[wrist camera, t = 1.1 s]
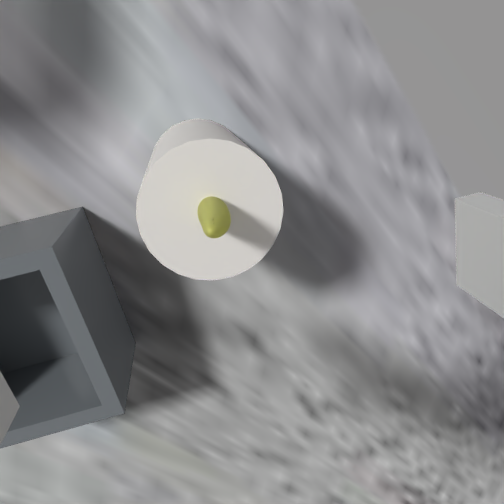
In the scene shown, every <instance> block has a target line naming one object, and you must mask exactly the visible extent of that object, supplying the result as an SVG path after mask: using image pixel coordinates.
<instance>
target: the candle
mask: <svg viewBox="0 0 504 504" xmlns="http://www.w3.org/2000/svg"><path fill="white" fill-rule="evenodd" d="M282 217H283V201H282V193H281V190H280V187H279V185H278V182H277V179H276V177H275V175H274V174H273V172H272V171H271V170H270V168H269V167H268V166H267V164H266V163H265V161H264V160H263V159H261V158H260V157H259V156H258V155H257V154H256V153H255V152H254V151H252V150H251V149H250V148H249V147H248V146H247V145H246V144H244V143H243V142H242V141H241V140H240V139H239V138H238V137H237V136H235V135H234V134H233V133H232V132H231V131H229V130H228V129H227V128H225V127H224V126H223V125H221V124H218V123H216V122H214V121H211V120H205V119H191V120H184V121H182V122H180V123H178V124H175V125H173V126H172V127H170V128H169V129H168V130H167V131H166V132H164V133H163V134H162V136H161V137H160V139H159V140H158V142H157V143H156V144H155V147H154V150H153V153H152V156H151V158H150V161H149V164H148V167H147V170H146V173H145V175H144V178H143V181H142V184H141V187H140V190H139V193H138V196H137V207H136V219H137V223H138V227H139V231H140V235H141V237H142V239H143V241H144V243H145V244H146V246H147V248H148V250H149V251H150V253H151V254H152V255H153V256H154V257H155V258H156V259H157V260H158V261H159V262H160V263H161V264H162V265H164V266H165V267H167V268H169V269H170V270H172V271H174V272H175V273H177V274H179V275H183V276H186V277H189V278H192V279H197V280H219V279H224V278H230V277H233V276H235V275H237V274H240V273H242V272H244V271H247V270H248V269H250V268H251V267H252V266H254V265H255V264H256V263H257V262H259V261H260V260H261V259H262V258H263V257H264V256H265V255H266V253H267V252H268V251H269V250H270V248H271V247H272V246H273V244H274V242H275V240H276V238H277V235H278V233H279V231H280V228H281V223H282Z"/></svg>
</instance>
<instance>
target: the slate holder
mask: <svg viewBox="0 0 504 504" xmlns="http://www.w3.org/2000/svg"><path fill="white" fill-rule="evenodd" d="M135 344H136V343H135V341H134V338H133V335H132V333H131V330H130V328H129V325H128V323H127V320H126V317H125V315H124V312H123V310H122V307H121V305H120V302H119V299H118V297H117V294H116V292H115V289H114V287H113V284H112V281H111V279H110V276H109V274H108V271H107V268H106V266H105V263H104V261H103V258H102V256H101V253H100V250H99V248H98V245H97V243H96V240H95V238H94V235H93V232H92V230H91V227H90V225H89V222H88V219H87V217H86V214H85V212H84V209H83V207H79V208H75V209H71V210H67V211H63V212H59V213H55V214H51V215H47V216H43V217H39V218H35V219H30V220H26V221H22V222H18V223H14V224H10V225H6V226H2V227H0V371H1V373H2V375H3V377H4V378H5V380H6V382H7V384H8V386H9V388H10V389H11V391H12V393H13V395H14V397H15V398H16V400H17V402H18V404H19V406H20V407H19V409H18V411H17V413H16V415H15V417H14V419H13V421H12V423H11V425H10V427H9V429H8V431H7V433H6V435H5V437H4V439H3V441H2V443H1V445H0V448H4V447H7V446H11V445H15V444H18V443H22V442H25V441H29V440H32V439H36V438H39V437H43V436H46V435H50V434H53V433H57V432H60V431H64V430H67V429H71V428H75V427H78V426H82V425H85V424H89V423H92V422H96V421H99V420H103V419H106V418H110V417H113V416H117V415H120V414H124V413H125V408H126V401H127V395H128V389H129V382H130V376H131V370H132V363H133V357H134V351H135Z"/></svg>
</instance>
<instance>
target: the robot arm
mask: <svg viewBox="0 0 504 504" xmlns="http://www.w3.org/2000/svg"><path fill="white" fill-rule="evenodd" d="M455 236H456V285H457V286H458V287H460V288H461V289H463V290H464V291H465V292H467V293H468V294H470V295H471V296H473V297H474V298H475V299H477V300H478V301H480V302H481V303H482V304H484V305H485V306H487V307H488V308H490V309H491V310H492V311H494V312H495V313H497V314H498V315H500V316H501V317H502V318H504V200H502V199H499V198H496V197H493V196H490V195H488V194H484V193H482V192H479V193H475V194H471V195H468V196H463V197H460V198H456V199H455ZM19 407H20V406H19V404H18V402H17V400H16V398H15V397H14V395H13V393H12V391H11V389H10V388H9V386H8V384H7V382H6V380H5V378H4V377H3V375H2V373H1V371H0V445H1V443H2V441H3V439H4V437H5V435H6V433H7V431H8V429H9V427H10V425H11V423H12V421H13V419H14V417H15V415H16V413H17V411H18V409H19Z"/></svg>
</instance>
